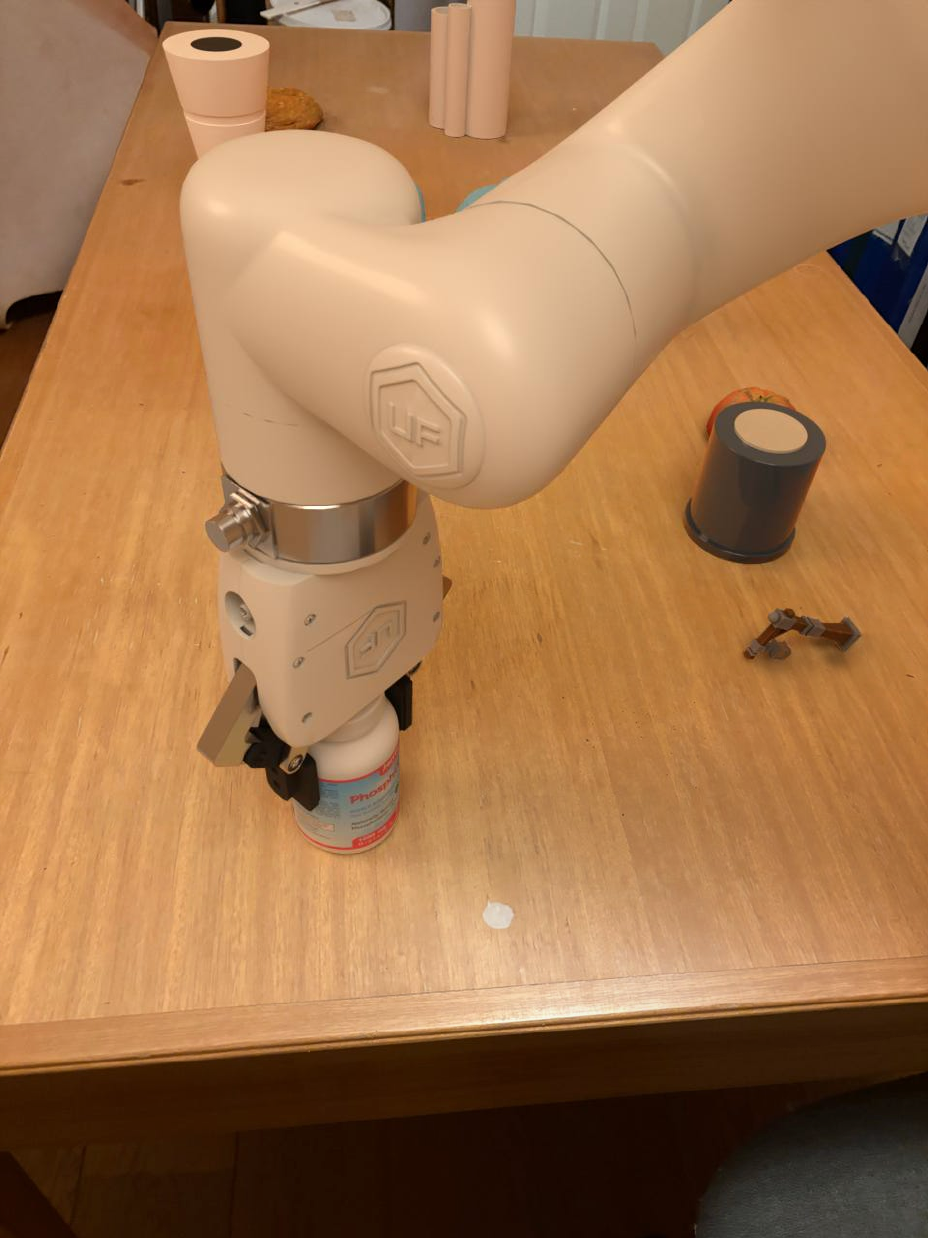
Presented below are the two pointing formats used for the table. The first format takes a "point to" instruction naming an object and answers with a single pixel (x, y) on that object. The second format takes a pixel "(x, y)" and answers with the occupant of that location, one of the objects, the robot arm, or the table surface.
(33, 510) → the table surface
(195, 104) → the pink tapered cylinder
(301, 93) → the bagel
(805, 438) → the upturned cup
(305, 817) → the pill bottle
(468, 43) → the vase
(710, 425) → the tomato
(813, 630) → the wooden post with brackets
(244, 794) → the table surface
